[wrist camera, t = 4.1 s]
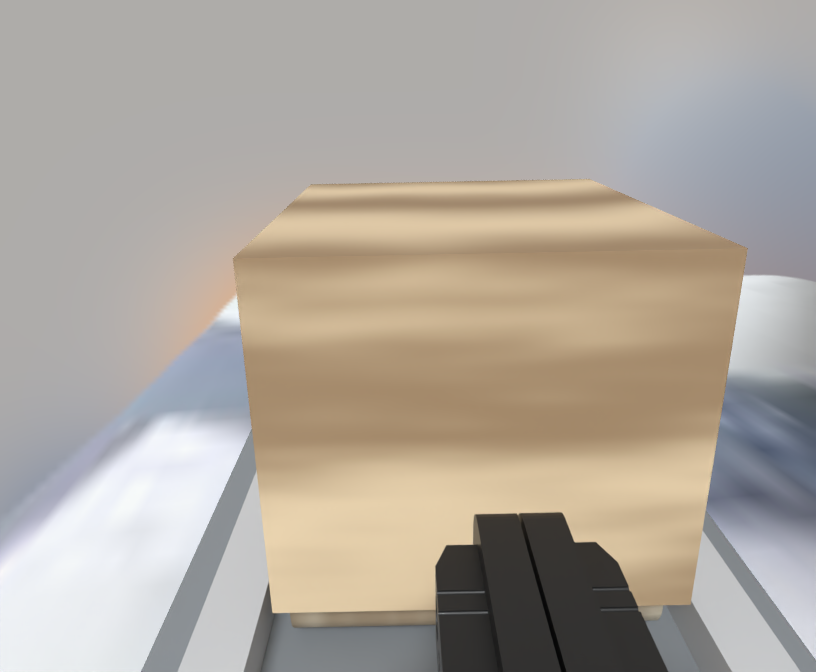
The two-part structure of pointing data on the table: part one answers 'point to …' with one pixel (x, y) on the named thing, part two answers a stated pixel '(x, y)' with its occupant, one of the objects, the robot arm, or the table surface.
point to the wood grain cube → (479, 383)
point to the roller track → (416, 644)
